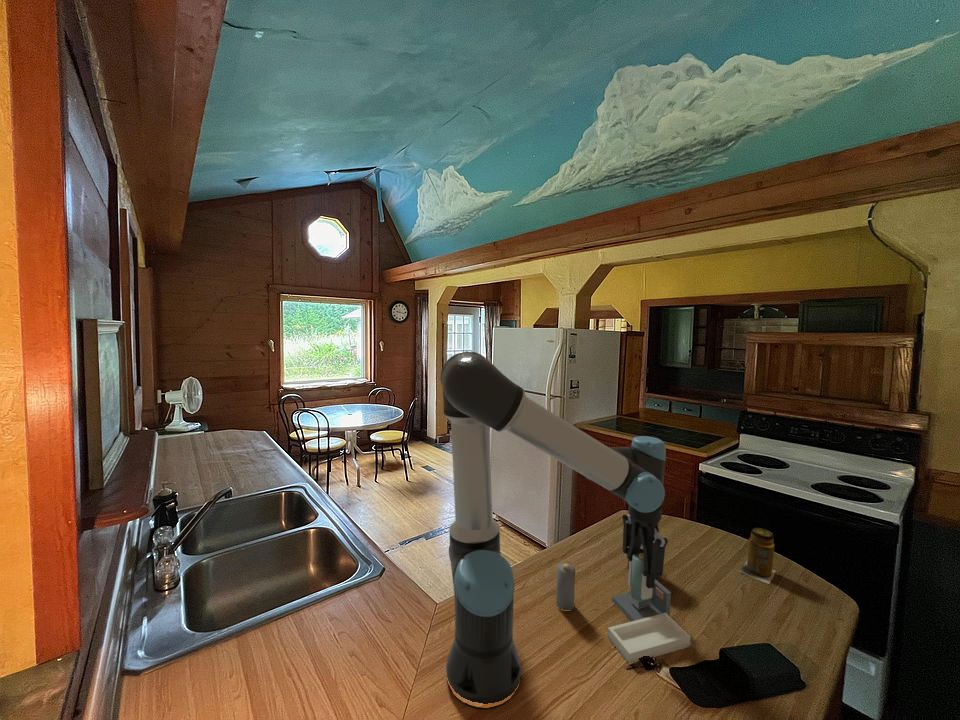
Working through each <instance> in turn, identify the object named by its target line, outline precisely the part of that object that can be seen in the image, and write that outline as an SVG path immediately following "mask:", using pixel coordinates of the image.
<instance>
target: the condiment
mask: <svg viewBox="0 0 960 720" xmlns="http://www.w3.org/2000/svg"><path fill="white" fill-rule="evenodd" d="M750 532H751V533H750V536H749V538H748V546H747V547H748V549H747V559H746V561H745V562H744V564H743V565H742V567H741V568H740V569H739V570H738V571H739V573H741V574H743V575H745V576H747V577H750V578H752V579H755V580H756V581H760V582H762V583H765V584H768V585H770V584H771V581H772V580H773V578H774V577H775V575H776V573H777V571H776V570H774V569H773V566H774V565H773V564H774V553H775V544H774V534H773V532H771V531H770V530H767V529H766V528H760V527H754V528H752V529H751V531H750ZM775 572H776V573H775ZM774 574H775V575H774Z"/></svg>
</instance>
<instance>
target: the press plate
mask: <svg viewBox="0 0 960 720" xmlns="http://www.w3.org/2000/svg"><path fill="white" fill-rule="evenodd" d="M630 601H631V602H632V603H633V604H634V605H635V606H636V607H637V608H638V609H642V608H646V607H650V606H651V598H650V599H649V601H647V602H639V601H637V600H635V599H633V598H632V596H631V593H630Z"/></svg>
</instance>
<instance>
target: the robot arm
mask: <svg viewBox="0 0 960 720" xmlns="http://www.w3.org/2000/svg"><path fill="white" fill-rule="evenodd" d="M440 384H441V388H442V389H441V390H442V403H443V404H442V406H443V416H444V417H445V418H447V419H448V420H449V421H450V428H451V431H450V432H451V433H450V434H451V450H452V452H451V453H452V471H453V472H452V473H453V475H452V476H453V496H454V517H455V518H454V519H455V520H454V521H453V523H451V524H450V526H449V528H448V531H449V546H448V556H449V561H450V567H451V576H452V584H453V585H452V586H453V593H454V594H453V596H454V640H453V643H452V646H451V647H450V651H449V654H448V656H447V661H446V667H445V669H446V672H447V678H448V681H449V683H450V685H451V686H452V688H453V689H454V691H455V692H456V693H458V694H459V695H460V696H461V697H463V698H465V699H467V700H470V701H472V702H478V703H483V704H488V703H495V702H499V701H502V700H504V699H505V698H507V697H508V696H510V695H511V694H512V693H513V692H514V691H515V689H516V688H517V686H518V684H519V681H520V682H521V680H520V677H521V675H522V672H521V671H522V669H521V668H522V667H521V659H520V656H519V654H518V653H519V652H518V649H516V645H515V641H514V639H513V638H514V637H513V635H514V633H513V632H514V595H515V578H514V573H513V572H514V571H513V568H512V566H511V564H510V563H509V561H508V559H506V558H505V557H504V556H503V555H502V553H501V536H500V534H501V531H500V525H499V523H498V521H496V520H495V519H494V518H493V495H492V468H491V467H492V465H491V464H492V463H491V462H492V461H491V458H492V457H491V438H490V436H491V435H490V434H491V433H490V430H491V429H493V430H494V431H496V432H499V433H500V432H504V431H507V432H508V433H510V434H512V435H514V436H515V437H517V438H519V439H521V440H522V441H524V442H525V443H527V444H529V445H531V446H533V448H535V449H537V450H540V451H541V452H542V453H544V454H545V455H548V456H550V457H551V458H553V459H555V460H557V461H558V462H559V463H561V464H564V466H567V467H568V468H570V469H572V470H574V471H576V472H577V473H579V474H580V475H582V476H584V477H585V478H586V479H587V480H588V481H592V482H594V483H595V484H597V485H599V486H600V487H602V488H604V489H606V490H607V491H609V492H610V493H612V494H613V495H615V496H617V497H619V498H621V499H622V500H624V501H625V502H626V503H627V505H628V508H627V509H628V510H627V512H628V513H627V514H622V517H621V518H622V522H623V528H622V529H623V531H622V532H623V533H622V552H623V554H626V558H627V559H628V562H627V563H628V564H627V570H628V575H627V578H628V579H627V586H628V587H629V588H631V577H632V558H633V554H635V553H639V551H640V547H641V544H642V545H643V552H644V565H645V572H643V573H642V586H641V599H642V600H644V599H649V598H652V592H653V588H654V584H655V577H658V578H659V577H662V576H664V565H665V553H666V547H667V545H668V541H669V540H668V538H667V537H662V535H661V534H660V529H659V523H660V521H661V520H662V515H663V505H662V504H663V502H664V500H665V497H666V495H665V494H666V491H665V486H664V482H665V472H666V462H667V456H666V454H667V451H666V450H667V449H666V448H667V447H666V443H665V442H664V441H663V440H662V439H660V438H658V437H655V436H648V435H639V436H635V437H633V439H632V441H631V445H630V446H619V447H618V446H616V447H615V446H612V447H610V446H607V445H605V444H604V443H602V442H600V441H599V440H597V439H596V438H594V437H592V436H591V435H590V434H587V433H586V432H584V431H583V430H581V429H579V428H578V427H576V426H575V425H573V424H571V423H570V422H568V421H566V420H565V419H563V418H562V417H560V416H559V415H556V414H555V413H554V412H552V411H550V410H549V409H547V408H545V407H544V406H543V405H540V404H539V403H537V402H535V401H534V400H532V399H531V398H529V397H527V395H526V392H525V389H524V388H523V387H521V386H519V385H518V384H516V383H515V382H514V381H512V380H511V379H509V378H508V377H507V376H506V375H504V374H503V373H502V371H501V370H499V369H498V368H497V367H496V366H495V365H494V364H493V363H492V362H491V361H489V360H488V359H487V358H486V357H485V356H483V355H482V354H480V353H478V352H475V351H461V352H458V353H455V354H453V355H452V356H450V357H449V358H448V359H447V360H446V361H445V363H444V364H443V366H442V368H441V371H440ZM490 428H491V429H490ZM447 678H446V679H447ZM521 678H522V677H521Z"/></svg>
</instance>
